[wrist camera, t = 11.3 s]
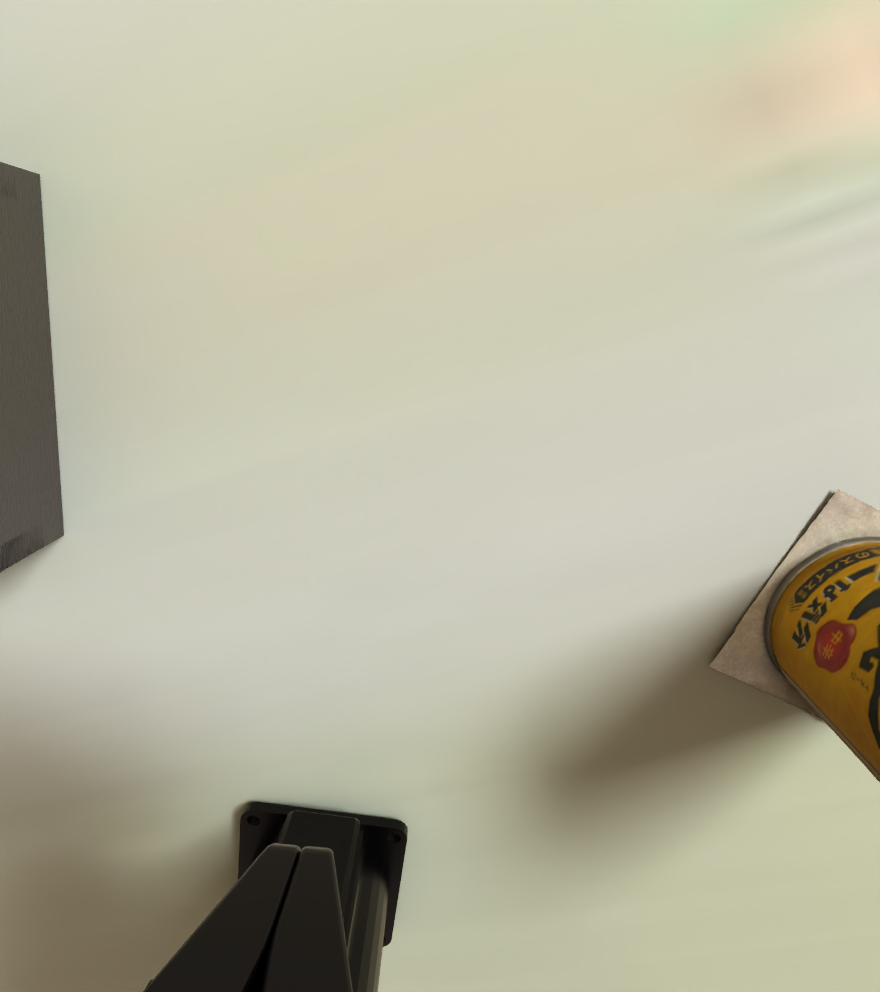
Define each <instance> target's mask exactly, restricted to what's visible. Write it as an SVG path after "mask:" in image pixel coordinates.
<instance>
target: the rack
mask: <svg viewBox="0 0 880 992" xmlns="http://www.w3.org/2000/svg"><path fill="white" fill-rule="evenodd" d="M63 535H64V530H63V515H62V500H61V485H60V470H59V455H58V440H57V425H56V411H55V396H54V381H53V366H52V351H51V336H50V321H49V306H48V292H47V277H46V262H45V247H44V232H43V217H42V202H41V188H40V174H37V173H33V172H30V171H27V170H24V169H21V168H18V167H14V166H11V165H8V164H5V163H2V162H0V572H1V571H3V570H5V569H6V568H8V567H10V566H12V565H13V564H15V563H17V562H18V561H20V560H22V559H24V558H25V557H27V556H29V555H30V554H32V553H34V552H35V551H37V550H39V549H41V548H42V547H44V546H46V545H47V544H49V543H51V542H53V541H54V540H56V539H58V538H59V537H61V536H63Z"/></svg>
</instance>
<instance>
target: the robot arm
mask: <svg viewBox="0 0 880 992" xmlns="http://www.w3.org/2000/svg"><path fill="white" fill-rule="evenodd" d="M253 815H254V816H253ZM255 816H257V817H255ZM391 833H396V834H395V835H394V834H391ZM407 833H408V829H407V826H406V825H405V823H403V822H402V821H399V820H394V819H386V818H378V817H371V816H363V815H355V814H347V813H339V812H331V811H323V810H315V809H307V808H300V807H292V806H284V805H276V804H268V803H260V802H252V803H249V804H248V805H247V806H246V807H245V809H244V811H243V813H242V816H241V822H240V847H239V872H238V881H237V882H236V883H235V885H234V886H233V887H232V888H231V889H230V890H229V892H228V893H227V894H226V895H225V896H224V897H223V899H222V900H221V901H220V902H219V903H218V905H217V906H216V907H215V908H214V909H213V910H212V912H211V913H210V914H209V915H208V916H207V917H206V919H205V920H204V921H203V922H202V923H201V924H200V926H199V927H198V928H197V929H196V930H195V931H194V933H193V934H192V935H191V936H190V937H189V939H188V940H187V941H186V942H185V943H184V944H183V946H182V947H181V948H180V949H179V950H178V951H177V953H176V954H175V955H174V956H173V957H172V958H171V960H170V961H169V962H168V963H167V964H166V965H165V967H164V968H163V969H162V970H161V971H160V973H159V974H158V975H157V976H156V977H155V978H154V980H150V982H149V983H148V985H147V987H146V989H145V990H144V991H143V992H378V984H379V975H380V966H381V957H382V948H383V947H384V946H387V945H388V944H389V943H390V942H391V939H392V933H393V926H394V920H395V913H396V907H397V900H398V894H399V887H400V881H401V875H402V868H403V862H404V855H405V849H406V842H407Z"/></svg>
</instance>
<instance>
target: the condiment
mask: <svg viewBox="0 0 880 992" xmlns="http://www.w3.org/2000/svg"><path fill="white" fill-rule="evenodd" d="M709 667H711V668H713V669H715V670H717V671H719V672H722V673H724V674H726V675H729V676H731V677H733V678H735V679H738V680H740V681H742V682H745V683H747V684H749V685H752V686H754V687H756V688H758V689H760V690H762V691H764V692H767V693H769V694H772V695H774V696H776V697H778V698H780V699H782V700H784V701H786V702H788V703H790V704H793V705H795V706H797V707H799V708H801V709H803V710H805V711H807V712H809V713H812V714H814V715H816V716H818V717H819V718H821V719H823V720H824V721H825V722H826V723H827V724H828V726H829V727H830V728H831V729H832V730H833V731H834V732H835V733H836V734H837V735H838V736H839V738H840V739H841V740H842V741H843V742H844V743H845V744H846V745H847V746H848V747H849V749H850V750H851V751H852V752H853V753H854V754H855V755H856V756H857V758H859V759H860V761H861V762H862V763H863V764H864V765H865V766H866V767H867V768H868V770H869V771H870V772H871V773H872V774H873V776H874V777H876V779H877V780H878V781H879V782H880V511H879V510H877V509H875V508H873V507H871V506H869V505H868V504H866V503H864V502H862V501H860V500H858V499H856V498H854V497H852V496H850V495H848V494H846V493H844V492H842V491H840V490H837V492H836V493H835V494H834V495H833V496H832V498H831V499H830V500H829V501H828V503H827V505H826V506H825V507H824V508H823V510H822V511H821V513H820V514H819V515H818V517H817V518H816V520H814V521H813V522H812V523H811V525H810V526H809V528H808V530H807V531H806V533H805V534H804V535H803V536H802V537H801V538H800V539H799V540H798V542H797V543H796V545H795V546H794V547H793V549H792V550H791V551H790V552H789V554H788V555H787V557H786V558H785V560H784V561H783V562H782V564H781V565H780V566H779V567H778V569H777V570H776V571H775V573H774V574H773V575H772V577H771V578H770V580H769V581H768V583H767V584H766V586H765V587H764V589H763V590H762V591H761V593H760V594H759V595H758V597H757V599H756V600H755V601H754V602H753V604H752V605H751V606H750V608H749V610H748V611H747V612H746V614H745V615H744V616H743V618H742V620H741V622H740V623H739V625H738V626H737V627H736V629H735V632H734V634H733V635H732V636H731V637H730V638H729V640H728V641H727V643H726V644H725V645H724V647H723V648H722V650H721V651H720V652H719V654H718V655H717V656H716V658H715V659H714V660H713V662H712V663H711V664H710V665H709Z"/></svg>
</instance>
